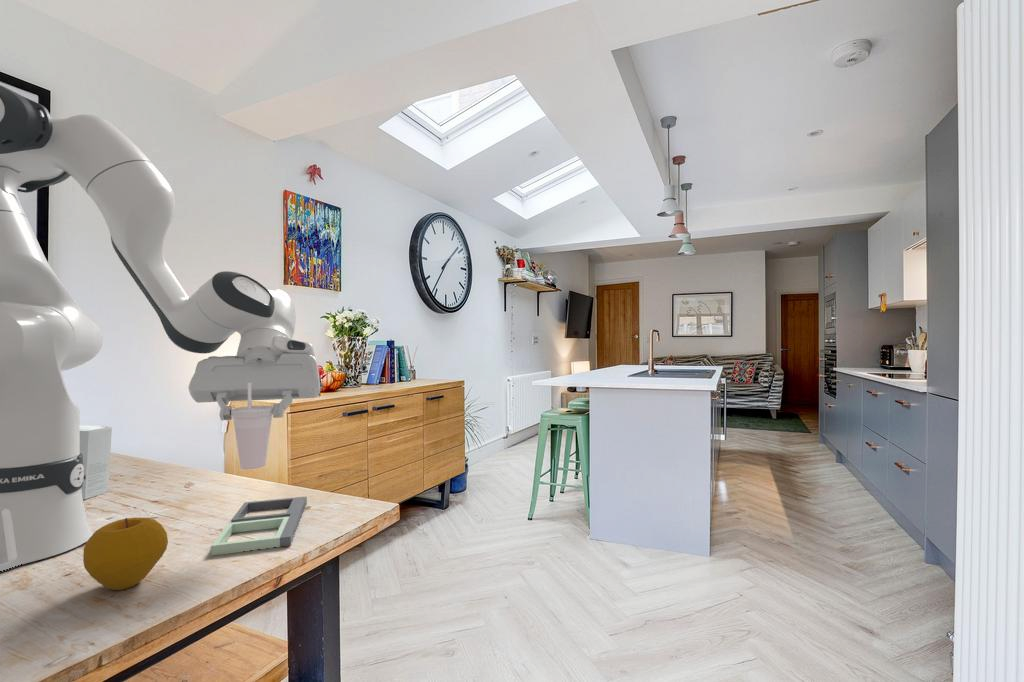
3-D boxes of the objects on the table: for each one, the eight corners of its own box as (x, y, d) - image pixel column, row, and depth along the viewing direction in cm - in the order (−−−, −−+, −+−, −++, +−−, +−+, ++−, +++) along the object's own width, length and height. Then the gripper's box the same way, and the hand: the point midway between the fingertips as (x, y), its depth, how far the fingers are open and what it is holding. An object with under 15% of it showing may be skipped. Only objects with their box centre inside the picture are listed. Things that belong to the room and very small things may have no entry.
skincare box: (48, 499, 98) (48, 429, 98) (76, 490, 104) (76, 424, 104) (86, 500, 97) (86, 429, 98) (112, 491, 103) (112, 424, 104)
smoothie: (222, 468, 76) (221, 383, 76) (259, 459, 82) (258, 380, 82) (246, 473, 73) (246, 385, 73) (283, 463, 79) (282, 381, 79)
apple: (184, 571, 67) (184, 508, 67) (121, 605, 58) (121, 533, 58) (132, 566, 68) (131, 505, 68) (63, 599, 60) (63, 529, 60)
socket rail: (211, 555, 72) (211, 545, 72) (244, 509, 91) (244, 502, 91) (290, 545, 75) (290, 536, 75) (306, 503, 95) (306, 496, 95)
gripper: (195, 344, 81) (173, 408, 72) (321, 343, 87) (315, 402, 78) (203, 368, 85) (184, 431, 76) (323, 366, 92) (318, 424, 82)
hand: (251, 416), depth 77 cm, fingers closed on smoothie, 6 cm apart
